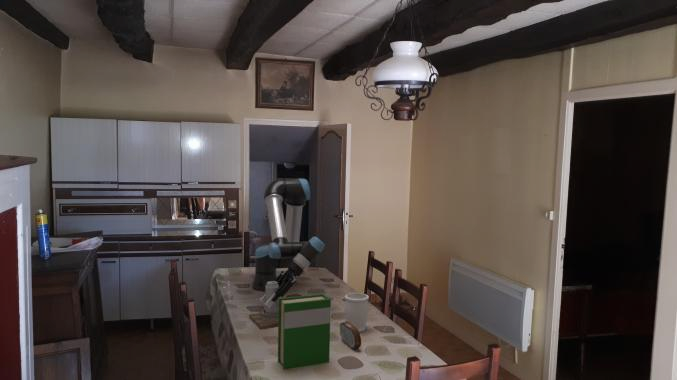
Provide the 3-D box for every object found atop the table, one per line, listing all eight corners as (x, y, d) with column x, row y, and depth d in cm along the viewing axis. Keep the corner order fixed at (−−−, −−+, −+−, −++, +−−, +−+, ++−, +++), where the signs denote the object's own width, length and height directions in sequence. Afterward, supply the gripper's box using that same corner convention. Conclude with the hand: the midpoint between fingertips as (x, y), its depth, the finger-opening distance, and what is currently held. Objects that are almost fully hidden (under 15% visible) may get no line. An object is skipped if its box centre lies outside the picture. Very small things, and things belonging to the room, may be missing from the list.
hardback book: (283, 369, 179) (284, 304, 177) (277, 361, 186) (278, 298, 184) (329, 362, 186) (330, 299, 184) (321, 354, 193) (323, 293, 191)
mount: (249, 317, 232) (249, 308, 232) (281, 313, 240) (281, 304, 239) (260, 329, 218) (260, 319, 218) (294, 324, 226) (294, 314, 225)
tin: (361, 351, 198) (362, 330, 197) (354, 352, 196) (355, 331, 196) (345, 337, 211) (345, 318, 210) (338, 338, 210) (338, 319, 209)
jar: (355, 323, 229) (356, 291, 227) (372, 329, 221) (373, 296, 220) (339, 329, 221) (339, 295, 220) (356, 335, 214) (357, 301, 212)
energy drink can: (266, 312, 232) (266, 280, 231) (279, 312, 232) (279, 281, 231) (264, 316, 226) (264, 284, 225) (277, 317, 226) (277, 284, 224)
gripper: (311, 275, 226) (277, 315, 220) (295, 266, 243) (262, 303, 237) (301, 264, 223) (265, 305, 217) (285, 256, 240) (252, 293, 234)
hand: (264, 304), depth 227 cm, fingers closed on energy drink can, 6 cm apart
